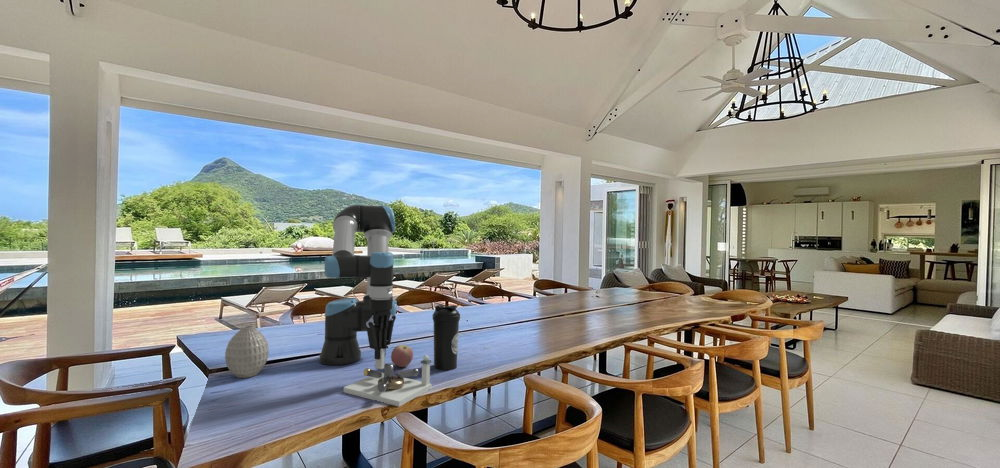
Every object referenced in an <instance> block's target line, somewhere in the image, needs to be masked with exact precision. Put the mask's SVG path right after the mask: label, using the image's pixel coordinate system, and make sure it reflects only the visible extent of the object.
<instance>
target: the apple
mask: <svg viewBox="0 0 1000 468" xmlns="http://www.w3.org/2000/svg"><path fill="white" fill-rule="evenodd" d="M390 354H391V355H390V359H391V362H392V364H393V365H396V366H398V367H400V368H405V367H407V366H409V364H411V362H412V360H413V358H414V352H413V349H412V348H411V347H410V346H408V345H407V344H398V345H396V346H395V347H394V348H393V349H392V352H391V353H390Z"/></svg>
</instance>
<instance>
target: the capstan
mask: <svg viewBox="0 0 1000 468" xmlns="http://www.w3.org/2000/svg"><path fill="white" fill-rule="evenodd" d="M362 373H363V376H365V377H369V376H370V377H374V378H380V377H382V373H384V377H383V378H381V379H379V380H378V389H379V391H380V392H384V391H386V390H396V389H399V388H402V387H403V386H404V379H403V378H409V377H417V376H418V375H419V373H420V371H419V369H418V368H413V369H408V370H403V371H398V372H397V373H398V374H397V375H394V363H390V362H389V363H385V365H384V368H383V372H382V371H379V370H374V369H370V368H365V369H364V370H363V372H362ZM393 375H394V376H393Z"/></svg>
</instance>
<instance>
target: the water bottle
mask: <svg viewBox="0 0 1000 468" xmlns="http://www.w3.org/2000/svg"><path fill="white" fill-rule="evenodd" d="M457 308H458V305H457V304H456V305H455V304H452V305H445V306H444V305H443V304H438V305H436V306H435V307H434V312H433V313H432V321H433V368H434V369H435V370H438V371H442V372H443V371H445V372H446V371H452V370H455V369H457V368H458V351H459V350H458V349H459V347H458V346H459V331H460V329H459V327H460V320H461V314H460V312H459V310H457Z"/></svg>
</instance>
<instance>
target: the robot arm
mask: <svg viewBox="0 0 1000 468" xmlns="http://www.w3.org/2000/svg"><path fill="white" fill-rule="evenodd" d="M332 228H333V229H332V230H333V231H334V238H333V245H332V255H329V256H328V255H327V256H326V257H325V258H324V275H325V277H326V278H328V279H329V278H330V279H331V278H333V279H339V278H346V279H348V278H366V294H364V296H363V297H362V301H359V300H358V298H357V297H344V298H339V299H334V300H331V301H329V302H328V303H327V304H326V305H325V312H324V341H323V344H322V348H321V352H319V363H321V364H323V365H326V366H340V365H349V364H353V363H356V362H359V360H361V359H362V351H361V349H360V345H359V343H358V339H357V338H358V337H357V333H358V332H367V333H366V334H367V340H368V347H369V349H371V350H374V361H375V362H374V368H375V369H378V370H384V365H385V364H386V363H385V359H386V358H385V357H386V350H387V349H389V346H390V345H391V342H392V341H391V340H392V336H393V331H394V325H395V320H396V319H397V316H396V313H397V307H398V306H397V300H395V299H394V296H393V287H394V286H393V284H394V281H393V277H394V263H395V262H394V254H393V253H392V252H390V251H389V240H390V238H391V237H392V236H393V233H395V231H396V220H395V212H394V210H393V208H392V207H390V206H385V205H360V204H355V205H351V206H347V207H345V208H344V209H342V210H340V211H339V212H338V213H337V214H336V215H335V217H334V219H333V222H332ZM356 233H363V236H364V238H366V239H367V240H366V241H367V246H366V247H367V252H366V253H367V254H366V255H355V241H356V240H355V239H356V237H355V234H356Z"/></svg>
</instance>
